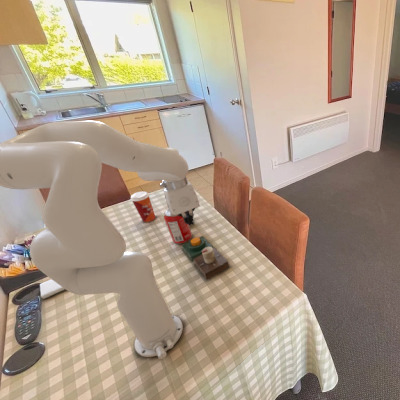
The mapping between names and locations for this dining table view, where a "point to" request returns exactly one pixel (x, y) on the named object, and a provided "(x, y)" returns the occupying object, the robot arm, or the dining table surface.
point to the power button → (195, 241)
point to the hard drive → (50, 288)
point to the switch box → (196, 248)
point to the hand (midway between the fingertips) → (189, 223)
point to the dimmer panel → (211, 265)
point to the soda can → (177, 228)
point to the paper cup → (143, 206)
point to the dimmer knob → (208, 255)
